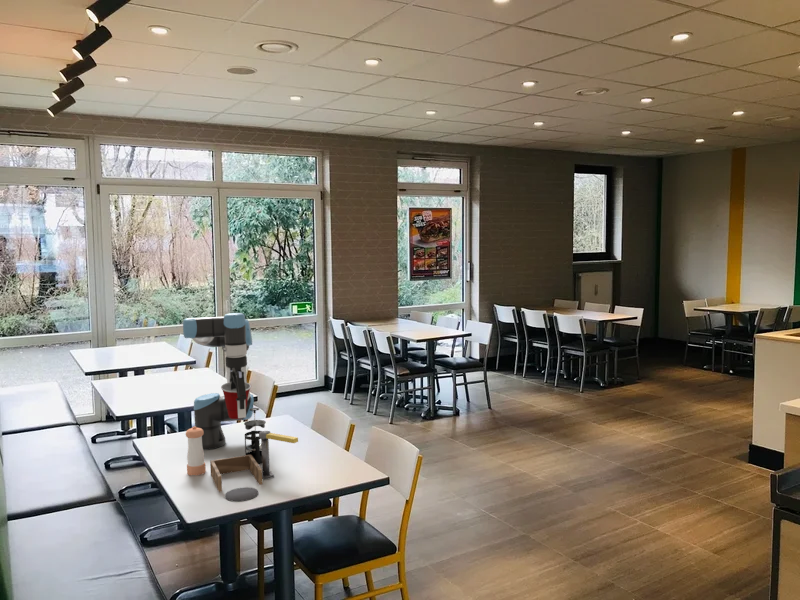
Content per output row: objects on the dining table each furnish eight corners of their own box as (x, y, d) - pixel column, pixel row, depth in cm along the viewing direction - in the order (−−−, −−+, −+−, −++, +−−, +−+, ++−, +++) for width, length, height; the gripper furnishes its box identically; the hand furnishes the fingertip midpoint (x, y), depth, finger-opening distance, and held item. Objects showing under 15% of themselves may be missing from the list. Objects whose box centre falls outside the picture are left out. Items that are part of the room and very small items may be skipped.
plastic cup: (228, 423, 232) (227, 391, 231) (217, 415, 241) (216, 384, 239) (256, 417, 239) (256, 386, 237) (245, 410, 247) (244, 379, 246)
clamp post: (258, 475, 260) (257, 437, 258) (271, 473, 262) (269, 436, 260) (261, 479, 255) (259, 441, 254) (273, 477, 257) (272, 439, 256)
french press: (269, 463, 274) (267, 410, 272) (247, 466, 270) (245, 412, 268) (264, 455, 285) (262, 403, 283) (243, 458, 281) (240, 406, 279)
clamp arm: (292, 444, 247) (292, 439, 247) (256, 438, 256) (256, 433, 256) (299, 441, 251) (299, 436, 250) (264, 435, 260) (264, 430, 260)
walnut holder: (210, 475, 261) (210, 460, 261) (251, 468, 268) (251, 454, 268) (218, 492, 243) (218, 476, 242) (262, 484, 250) (261, 469, 249)
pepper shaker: (204, 474, 262) (202, 428, 260) (185, 476, 260) (183, 429, 259) (206, 468, 269) (204, 423, 267) (188, 470, 268) (186, 424, 266)
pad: (222, 492, 243) (222, 490, 243) (254, 486, 248) (254, 485, 247) (228, 503, 232) (228, 502, 232) (261, 497, 237) (261, 496, 237)
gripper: (219, 351, 245) (222, 406, 247) (231, 362, 222) (234, 422, 224) (239, 349, 248) (242, 404, 250) (253, 360, 225) (255, 420, 227)
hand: (238, 413), depth 237 cm, fingers open, 13 cm apart
